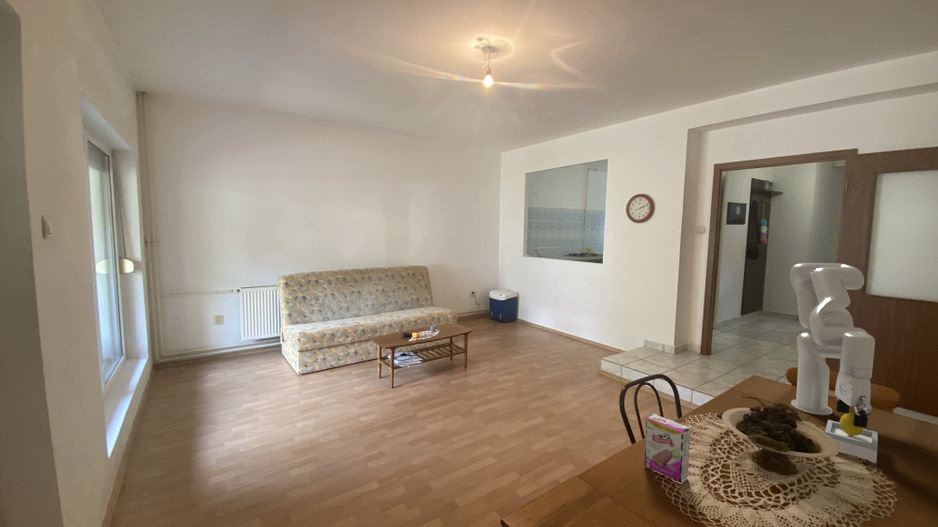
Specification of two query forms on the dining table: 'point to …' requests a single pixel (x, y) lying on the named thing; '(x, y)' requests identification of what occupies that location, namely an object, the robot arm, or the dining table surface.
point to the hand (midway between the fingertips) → (850, 419)
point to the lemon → (849, 425)
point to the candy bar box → (667, 447)
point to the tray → (854, 441)
